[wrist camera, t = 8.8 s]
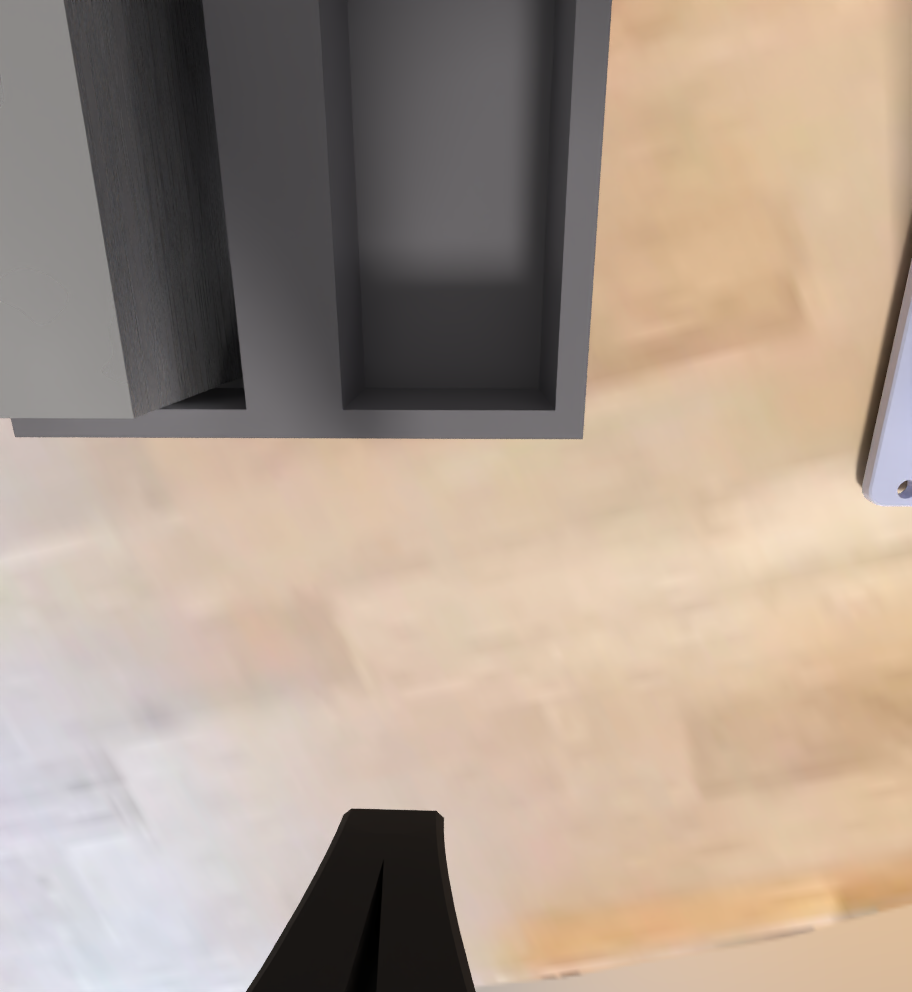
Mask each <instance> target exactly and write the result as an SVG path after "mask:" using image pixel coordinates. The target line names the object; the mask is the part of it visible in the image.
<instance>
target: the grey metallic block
mask: <svg viewBox="0 0 912 992" xmlns="http://www.w3.org/2000/svg"><path fill="white" fill-rule="evenodd" d="M241 377H243V372H242V363H241V353H240V344H239V335H238V326H237V316H236V307H235V298H234V289H233V280H232V270H231V261H230V252H229V243H228V233H227V224H226V215H225V206H224V197H223V187H222V178H221V169H220V160H219V150H218V141H217V132H216V123H215V114H214V104H213V95H212V86H211V77H210V67H209V58H208V49H207V40H206V31H205V21H204V12H203V3H202V0H0V418H131V419H134V418H136V417H139V416H142V415H144V414H147V413H149V412H152V411H155V410H157V409H160V408H162V407H165V406H168V405H170V404H173V403H175V402H178V401H181V400H183V399H186V398H188V397H191V396H194V395H196V394H199V393H201V392H204V391H207V390H209V389H212V388H215V387H217V386H220V385H222V384H225V383H228V382H230V381H233V380H235V379H238V378H241Z"/></svg>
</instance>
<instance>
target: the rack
mask: <svg viewBox="0 0 912 992" xmlns="http://www.w3.org/2000/svg"><path fill="white" fill-rule="evenodd" d="M202 3H203V12H204V21H205V31H206V40H207V49H208V58H209V67H210V77H211V86H212V95H213V104H214V114H215V123H216V132H217V141H218V150H219V160H220V169H221V178H222V187H223V197H224V206H225V215H226V224H227V233H228V243H229V252H230V261H231V270H232V280H233V289H234V298H235V307H236V316H237V326H238V335H239V344H240V353H241V363H242V372H243V377H241V378H238V379H235V380H233V381H230V382H228V383H225V384H222V385H220V386H217V387H215V388H212V389H209V390H207V391H204V392H201V393H199V394H196V395H194V396H191V397H188V398H186V399H183V400H181V401H178V402H175V403H173V404H170V405H168V406H165V407H162V408H160V409H157V410H155V411H152V412H149V413H147V414H144V415H142V416H139V417H136V418H134V419H131V418H11V421H12V426H13V430H14V434H15V437H141V438H413V439H583V426H584V411H585V396H586V381H587V366H588V351H589V336H590V321H591V306H592V291H593V276H594V261H595V246H596V231H597V216H598V201H599V186H600V171H601V156H602V141H603V126H604V111H605V96H606V81H607V66H608V51H609V36H610V21H611V6H612V0H202Z"/></svg>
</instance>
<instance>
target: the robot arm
mask: <svg viewBox="0 0 912 992" xmlns="http://www.w3.org/2000/svg"><path fill="white" fill-rule="evenodd" d="M904 481H907V487H906V489H905V490H904V491H903V492H901V493H899V494H898V493H897V489H898V487H899V485H900V484H901V483H903V482H904ZM862 493H863V495H864V497H865V498H866V499H867V500H869V501H870V502H872V503H874V504H876V505H880V506H912V260H911V265H910V269H909V274H908V278H907V283H906V288H905V292H904V297H903V301H902V306H901V310H900V315H899V320H898V324H897V329H896V333H895V338H894V342H893V347H892V351H891V356H890V361H889V365H888V370H887V374H886V379H885V383H884V388H883V393H882V397H881V402H880V406H879V411H878V415H877V420H876V425H875V429H874V434H873V438H872V443H871V447H870V452H869V457H868V461H867V466H866V470H865V475H864V479H863V484H862ZM246 992H476V991H475V988H474V984H473V981H472V977H471V973H470V969H469V965H468V961H467V957H466V953H465V949H464V946H463V942H462V938H461V934H460V930H459V926H458V921H457V917H456V912H455V907H454V902H453V897H452V892H451V886H450V881H449V875H448V869H447V862H446V854H445V843H444V818H443V817H442V816H441V815H440V814H439V813H438V812H437V811H420V810H383V809H350V810H349V811H348V812H347V813H345V814H344V816H343V818H342V820H341V822H340V825H339V827H338V829H337V832H336V834H335V836H334V838H333V840H332V842H331V844H330V846H329V848H328V851H327V853H326V855H325V857H324V859H323V860H322V862H321V864H320V866H319V868H318V870H317V872H316V874H315V876H314V878H313V879H312V881H311V883H310V885H309V887H308V889H307V890H306V892H305V894H304V896H303V898H302V900H301V901H300V903H299V905H298V907H297V908H296V910H295V912H294V914H293V915H292V917H291V919H290V920H289V922H288V924H287V925H286V927H285V929H284V931H283V932H282V934H281V936H280V937H279V939H278V941H277V942H276V944H275V946H274V948H273V949H272V951H271V953H270V954H269V956H268V958H267V959H266V961H265V963H264V964H263V966H262V967H261V969H260V971H259V972H258V974H257V976H256V977H255V979H254V980H253V982H252V983H251V985H250V986H249V988H248V989H247V991H246Z"/></svg>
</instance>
